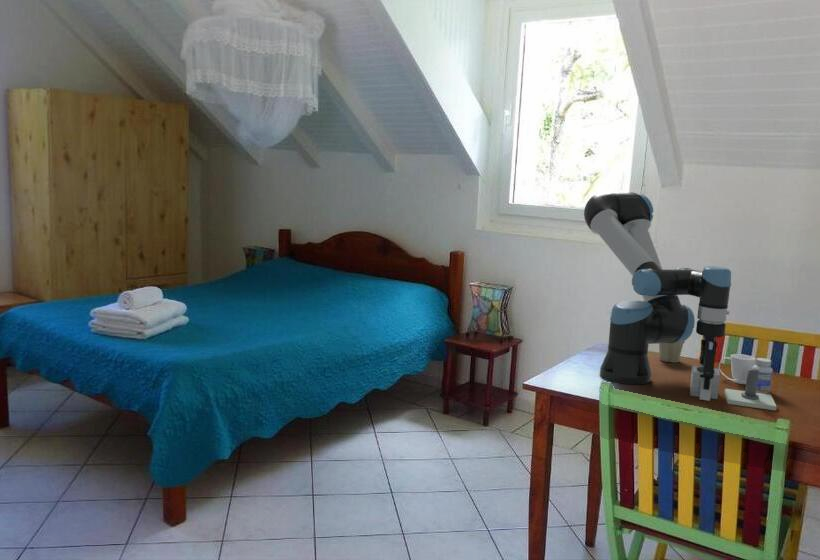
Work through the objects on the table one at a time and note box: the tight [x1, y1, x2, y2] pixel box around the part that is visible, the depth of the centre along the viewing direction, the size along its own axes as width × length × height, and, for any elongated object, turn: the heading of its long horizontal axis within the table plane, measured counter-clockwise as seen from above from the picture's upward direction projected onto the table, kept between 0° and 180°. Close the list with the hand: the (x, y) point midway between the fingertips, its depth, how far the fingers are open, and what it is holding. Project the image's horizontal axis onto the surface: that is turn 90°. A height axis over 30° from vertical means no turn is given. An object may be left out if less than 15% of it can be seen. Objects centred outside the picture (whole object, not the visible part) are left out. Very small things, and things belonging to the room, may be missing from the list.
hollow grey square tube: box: [689, 365, 721, 400], centre depth 195 cm, size 7×7×7 cm
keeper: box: [724, 368, 777, 411], centre depth 190 cm, size 12×11×9 cm
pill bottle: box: [752, 357, 774, 394], centre depth 200 cm, size 5×5×10 cm
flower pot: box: [658, 340, 686, 364], centre depth 231 cm, size 9×9×9 cm
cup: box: [718, 353, 757, 385], centre depth 209 cm, size 7×10×8 cm
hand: (703, 392), depth 196 cm, fingers open, 13 cm apart
